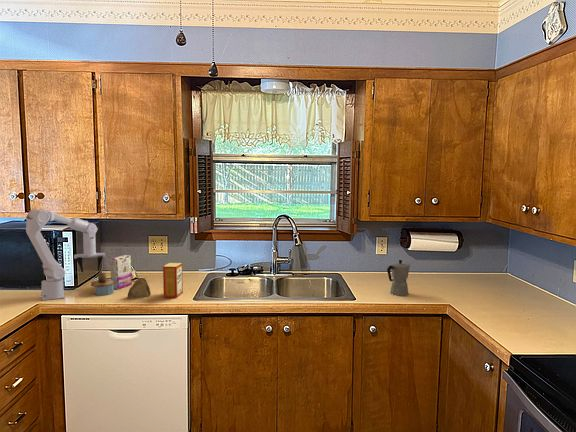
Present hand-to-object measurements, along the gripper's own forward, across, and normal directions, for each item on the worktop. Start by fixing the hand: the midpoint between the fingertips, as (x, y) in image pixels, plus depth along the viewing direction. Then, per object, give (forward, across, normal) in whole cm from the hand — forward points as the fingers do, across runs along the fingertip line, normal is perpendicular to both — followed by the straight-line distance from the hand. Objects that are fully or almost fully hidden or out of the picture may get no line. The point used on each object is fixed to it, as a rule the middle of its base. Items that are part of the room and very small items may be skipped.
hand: (90, 271), depth 218 cm
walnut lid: (+6, +6, -8) cm, 12 cm away
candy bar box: (+10, +15, +1) cm, 18 cm away
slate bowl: (+10, +7, -10) cm, 15 cm away
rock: (+10, +22, -22) cm, 33 cm away
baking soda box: (+10, +39, -26) cm, 47 cm away
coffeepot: (+10, +147, -65) cm, 161 cm away
